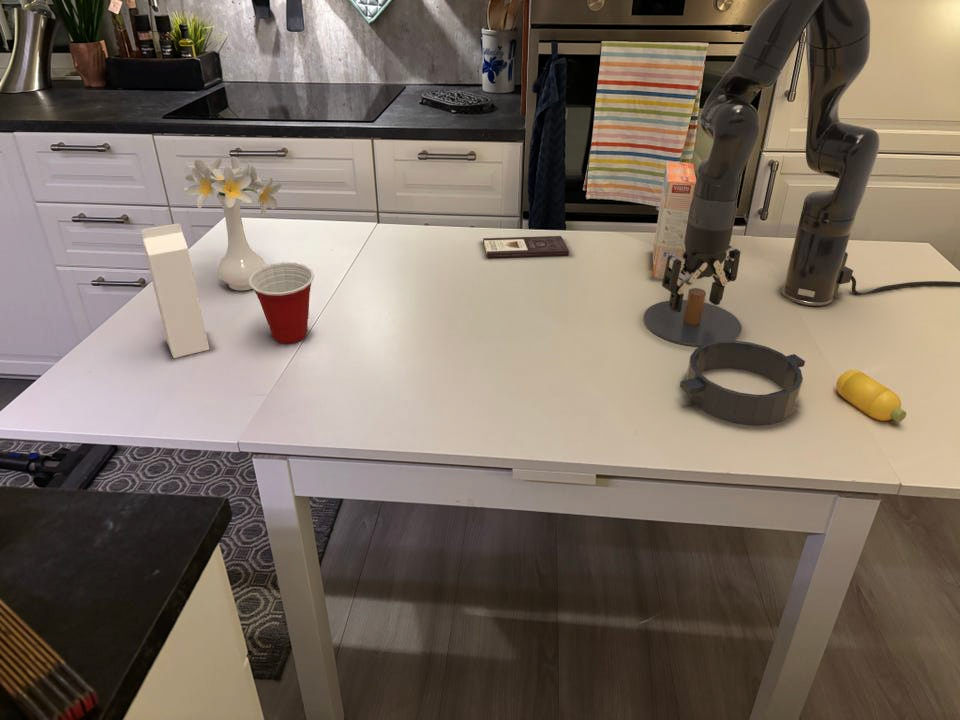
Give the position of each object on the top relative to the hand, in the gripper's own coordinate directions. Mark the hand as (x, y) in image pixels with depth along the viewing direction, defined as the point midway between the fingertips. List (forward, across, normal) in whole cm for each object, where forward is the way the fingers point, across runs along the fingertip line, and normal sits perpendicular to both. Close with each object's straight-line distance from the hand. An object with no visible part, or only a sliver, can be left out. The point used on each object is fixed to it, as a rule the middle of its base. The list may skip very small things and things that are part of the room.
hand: (694, 306), depth 133 cm
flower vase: (+5, -72, +49) cm, 88 cm away
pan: (+4, -7, -22) cm, 23 cm away
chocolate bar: (+4, -12, +44) cm, 46 cm away
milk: (+5, -85, +27) cm, 90 cm away
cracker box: (+4, +12, +24) cm, 27 cm away
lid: (+4, 0, 0) cm, 4 cm away
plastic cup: (+5, -68, +24) cm, 73 cm away
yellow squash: (+4, +9, -32) cm, 33 cm away
